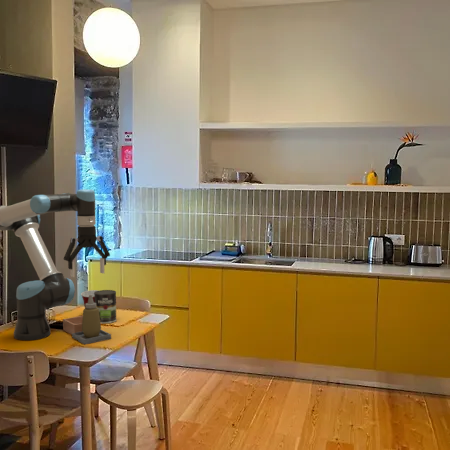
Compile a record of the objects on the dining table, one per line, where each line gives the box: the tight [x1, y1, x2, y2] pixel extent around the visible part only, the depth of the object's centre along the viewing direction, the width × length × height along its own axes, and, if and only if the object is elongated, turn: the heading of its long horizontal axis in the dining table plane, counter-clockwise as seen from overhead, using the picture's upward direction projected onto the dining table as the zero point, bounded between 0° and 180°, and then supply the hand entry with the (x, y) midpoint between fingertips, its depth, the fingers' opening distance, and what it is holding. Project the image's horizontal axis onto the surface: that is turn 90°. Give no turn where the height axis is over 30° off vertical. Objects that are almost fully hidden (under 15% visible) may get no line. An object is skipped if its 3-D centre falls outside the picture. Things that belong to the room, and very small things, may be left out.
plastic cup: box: [80, 289, 99, 307], centre depth 276 cm, size 11×11×12 cm
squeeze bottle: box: [82, 295, 102, 338], centre depth 239 cm, size 8×8×18 cm
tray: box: [71, 328, 112, 345], centre depth 240 cm, size 12×12×2 cm
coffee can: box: [94, 289, 117, 325], centre depth 267 cm, size 10×10×14 cm
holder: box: [62, 315, 102, 335], centre depth 252 cm, size 12×12×5 cm
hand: (87, 274), depth 240 cm, fingers open, 13 cm apart
